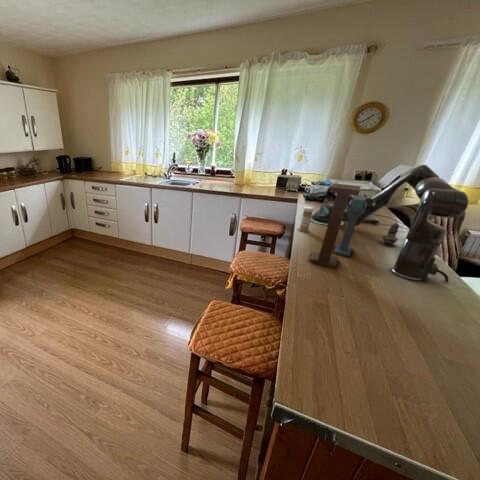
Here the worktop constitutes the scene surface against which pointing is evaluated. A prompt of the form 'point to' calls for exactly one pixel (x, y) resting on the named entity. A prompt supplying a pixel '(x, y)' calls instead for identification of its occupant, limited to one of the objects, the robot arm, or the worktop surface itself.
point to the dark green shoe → (323, 215)
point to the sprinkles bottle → (306, 219)
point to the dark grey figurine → (391, 236)
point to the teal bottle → (358, 201)
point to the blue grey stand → (349, 231)
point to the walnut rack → (334, 224)
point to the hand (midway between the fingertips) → (360, 195)
